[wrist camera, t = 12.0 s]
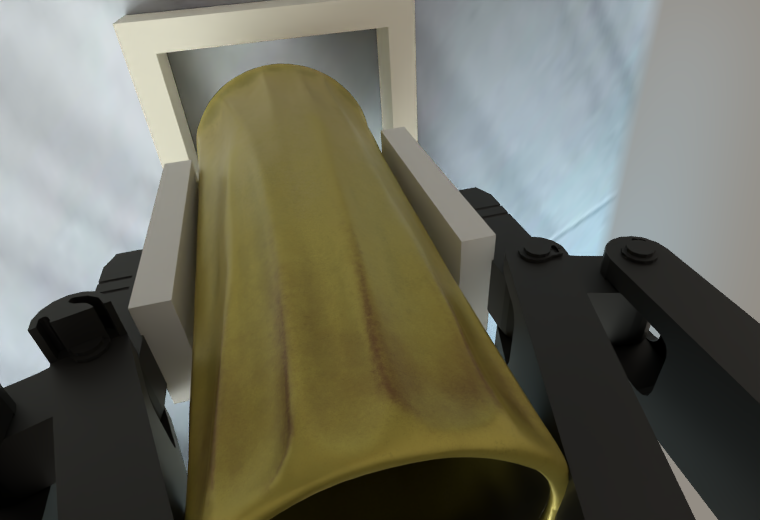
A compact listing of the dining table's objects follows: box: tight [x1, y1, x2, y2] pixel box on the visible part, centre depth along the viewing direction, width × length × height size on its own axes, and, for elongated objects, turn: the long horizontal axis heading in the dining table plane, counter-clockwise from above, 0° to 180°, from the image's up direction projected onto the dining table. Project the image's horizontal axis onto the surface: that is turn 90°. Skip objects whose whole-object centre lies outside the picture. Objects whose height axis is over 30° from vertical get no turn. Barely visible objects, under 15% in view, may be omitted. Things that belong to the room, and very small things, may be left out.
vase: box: [184, 64, 569, 520], centre depth 12 cm, size 6×6×14 cm
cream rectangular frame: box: [113, 0, 418, 182], centre depth 20 cm, size 10×10×2 cm
